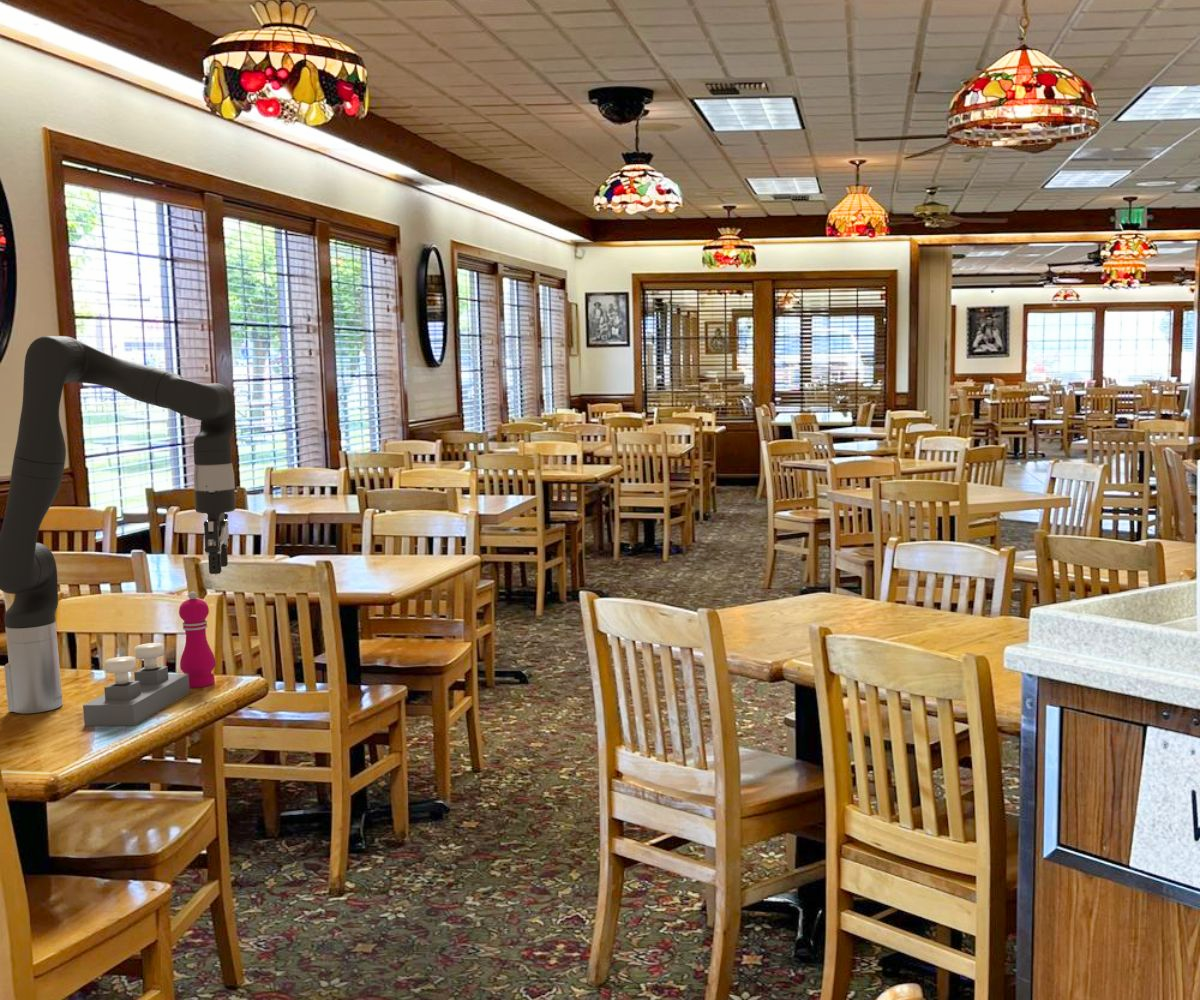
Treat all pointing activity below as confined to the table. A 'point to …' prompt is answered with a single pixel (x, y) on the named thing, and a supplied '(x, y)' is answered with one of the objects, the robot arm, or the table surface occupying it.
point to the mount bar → (136, 698)
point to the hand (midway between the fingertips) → (218, 570)
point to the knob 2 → (149, 653)
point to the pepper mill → (196, 643)
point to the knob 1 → (120, 668)
